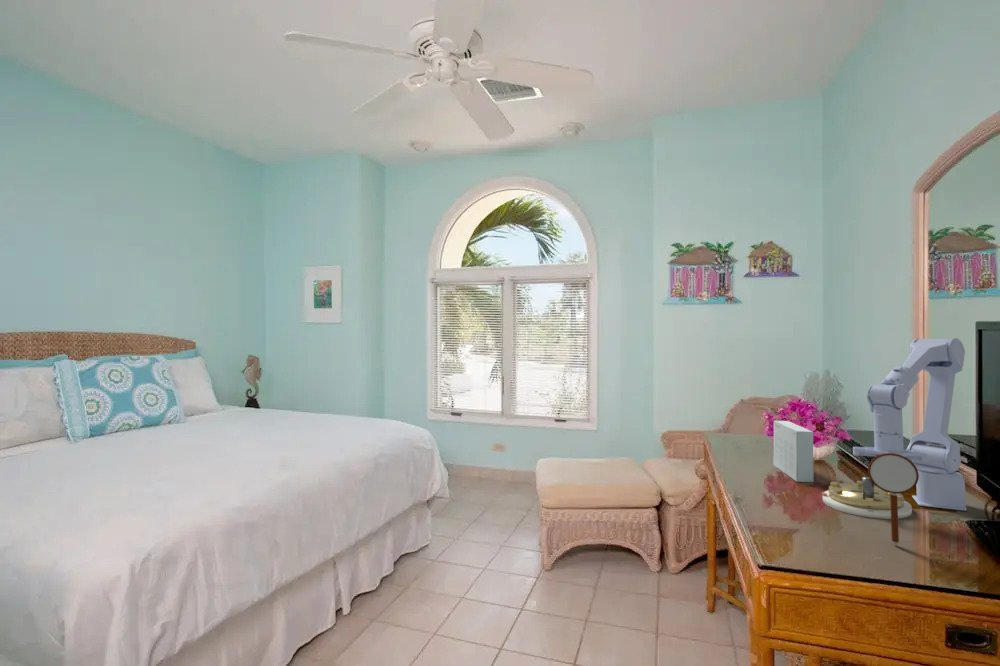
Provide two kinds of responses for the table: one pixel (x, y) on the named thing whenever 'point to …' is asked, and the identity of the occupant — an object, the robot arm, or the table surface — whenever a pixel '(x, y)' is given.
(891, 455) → the magnifying glass
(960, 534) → the table surface
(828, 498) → the disc
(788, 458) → the skincare box
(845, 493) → the brass round mechanism
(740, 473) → the table surface
